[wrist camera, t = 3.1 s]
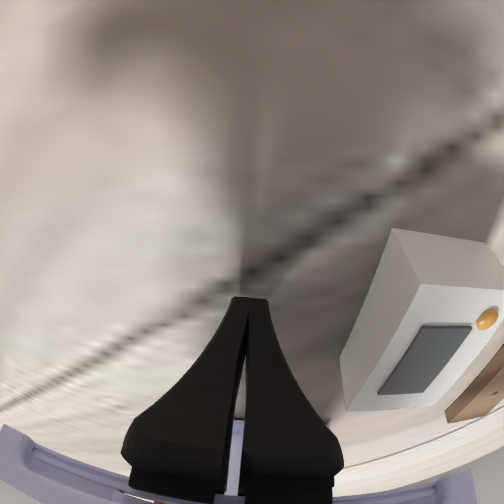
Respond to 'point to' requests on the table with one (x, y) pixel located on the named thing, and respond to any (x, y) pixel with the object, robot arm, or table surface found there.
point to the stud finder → (421, 321)
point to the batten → (480, 392)
